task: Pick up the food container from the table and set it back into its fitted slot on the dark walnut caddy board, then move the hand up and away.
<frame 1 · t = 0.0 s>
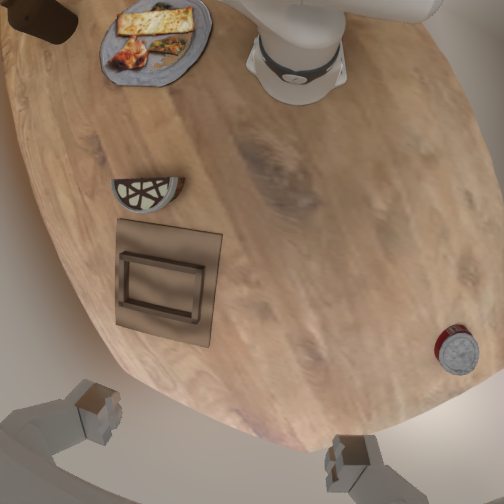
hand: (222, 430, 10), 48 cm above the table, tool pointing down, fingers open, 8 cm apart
caddy board: (163, 283, 61), on the table
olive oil: (64, 29, 50), on the table
food container: (162, 193, 57), on the table
food plate: (154, 40, 50), on the table
canned food: (450, 342, 58), on the table
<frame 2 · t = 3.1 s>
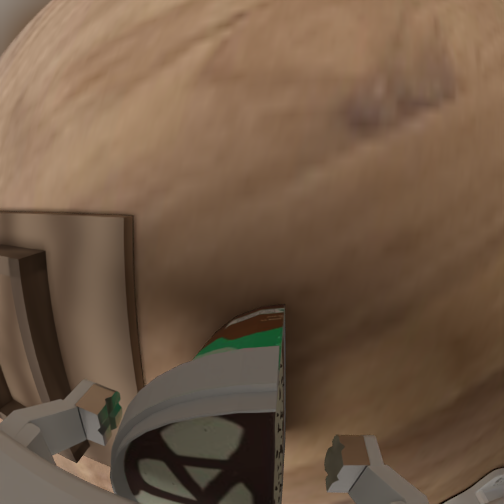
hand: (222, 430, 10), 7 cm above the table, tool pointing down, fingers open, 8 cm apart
caddy board: (25, 343, 20), on the table
food container: (233, 377, 17), on the table
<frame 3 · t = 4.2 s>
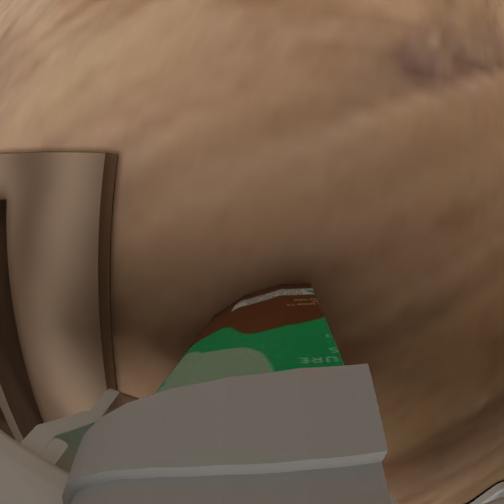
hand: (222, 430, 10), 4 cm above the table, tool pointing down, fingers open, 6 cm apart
food container: (232, 374, 13), on the table, touching gripper
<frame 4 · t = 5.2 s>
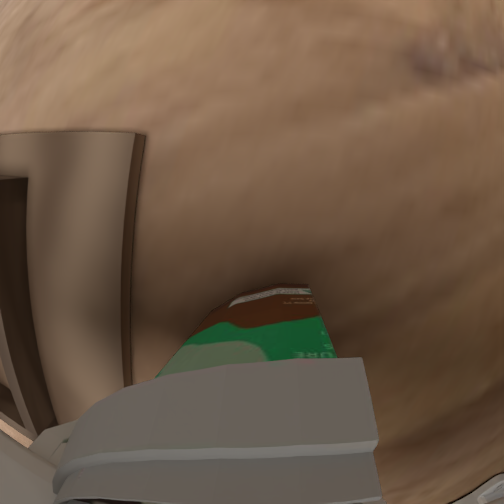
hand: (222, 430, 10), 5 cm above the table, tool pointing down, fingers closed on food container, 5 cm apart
food container: (226, 370, 13), point 1 cm above the table, touching gripper
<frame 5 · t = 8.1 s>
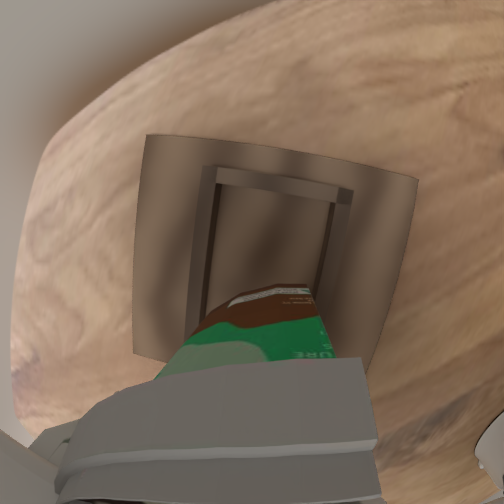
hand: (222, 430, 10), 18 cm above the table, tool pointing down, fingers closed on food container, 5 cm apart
caddy board: (262, 275, 27), on the table
food container: (225, 370, 13), point 14 cm above the table, touching gripper
when the fingers open (6 cm above the table, at t = 11.1 s): food container moves 1 cm, point 2 cm above the table.
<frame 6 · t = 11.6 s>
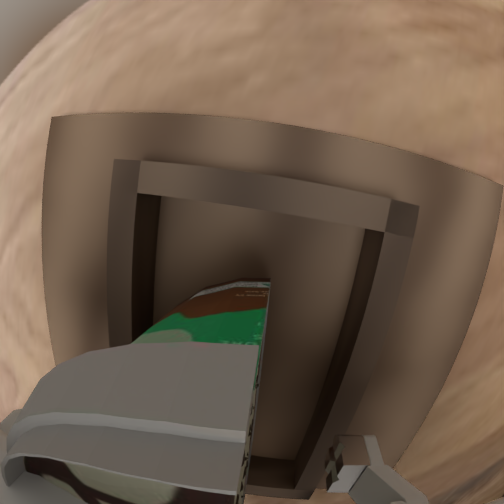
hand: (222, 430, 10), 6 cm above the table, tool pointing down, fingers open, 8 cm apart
caddy board: (241, 348, 15), on the table
food container: (195, 363, 14), point 2 cm above the table, touching gripper
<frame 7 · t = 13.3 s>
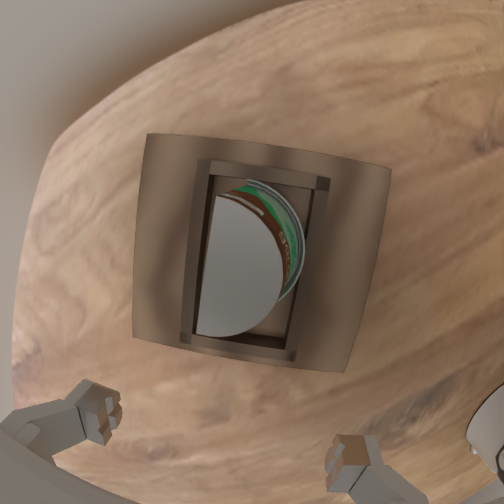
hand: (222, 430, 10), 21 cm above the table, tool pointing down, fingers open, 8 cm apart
caddy board: (252, 258, 30), on the table
food container: (251, 281, 19), point 11 cm above the table, touching caddy board
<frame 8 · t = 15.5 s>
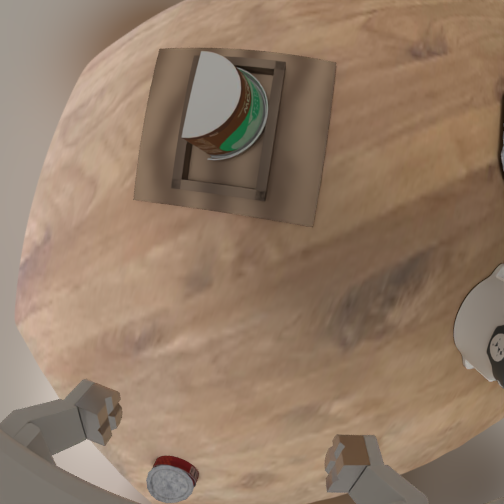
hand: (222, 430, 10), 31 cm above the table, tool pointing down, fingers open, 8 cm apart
caddy board: (231, 127, 37), on the table
food container: (220, 93, 25), point 11 cm above the table, touching caddy board
canned food: (177, 467, 53), on the table
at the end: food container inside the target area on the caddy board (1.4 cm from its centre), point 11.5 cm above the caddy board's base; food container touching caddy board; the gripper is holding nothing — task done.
